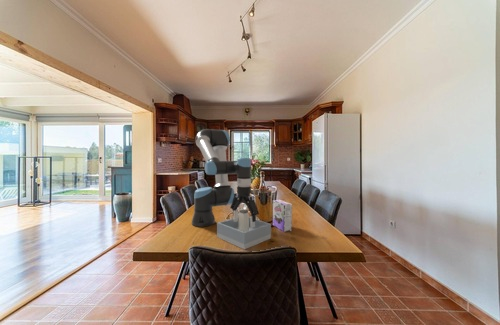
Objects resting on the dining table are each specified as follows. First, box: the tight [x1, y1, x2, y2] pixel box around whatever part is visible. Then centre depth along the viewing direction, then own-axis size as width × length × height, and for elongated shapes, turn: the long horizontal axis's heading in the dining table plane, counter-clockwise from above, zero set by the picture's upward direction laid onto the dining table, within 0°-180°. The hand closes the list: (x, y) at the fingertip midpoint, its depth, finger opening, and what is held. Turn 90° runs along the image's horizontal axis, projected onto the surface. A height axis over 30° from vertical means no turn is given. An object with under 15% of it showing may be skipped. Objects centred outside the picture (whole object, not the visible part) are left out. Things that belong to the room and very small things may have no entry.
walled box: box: [216, 216, 272, 250], centre depth 118 cm, size 22×20×8 cm
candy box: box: [272, 199, 293, 233], centre depth 134 cm, size 14×6×16 cm, turn 23°
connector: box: [238, 208, 250, 232], centre depth 118 cm, size 4×4×15 cm
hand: (243, 224), depth 118 cm, fingers open, 13 cm apart
